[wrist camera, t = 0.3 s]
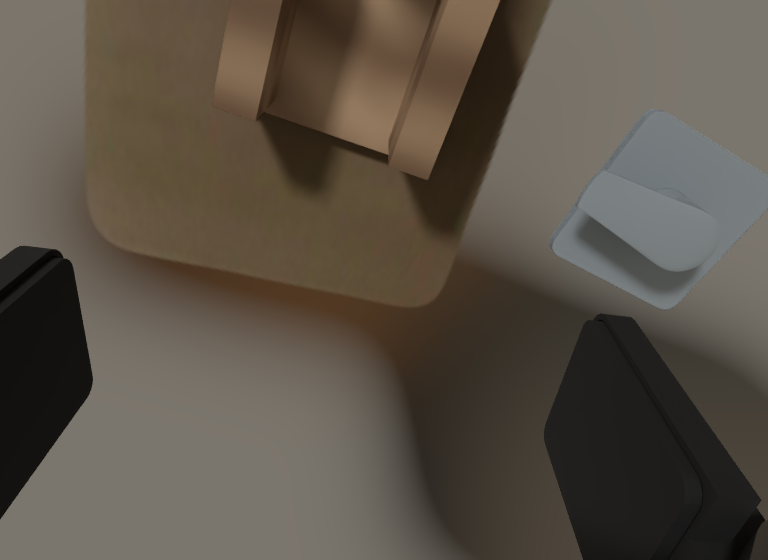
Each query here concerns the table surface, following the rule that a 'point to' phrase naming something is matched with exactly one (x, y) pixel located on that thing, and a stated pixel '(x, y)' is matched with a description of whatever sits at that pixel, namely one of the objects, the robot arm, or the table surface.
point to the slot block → (355, 69)
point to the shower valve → (661, 211)
